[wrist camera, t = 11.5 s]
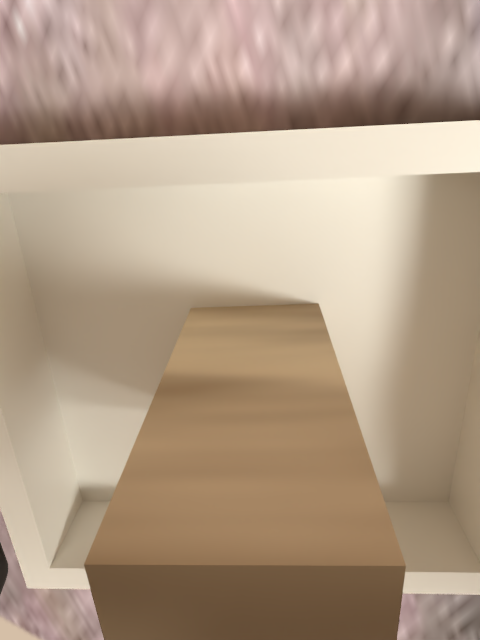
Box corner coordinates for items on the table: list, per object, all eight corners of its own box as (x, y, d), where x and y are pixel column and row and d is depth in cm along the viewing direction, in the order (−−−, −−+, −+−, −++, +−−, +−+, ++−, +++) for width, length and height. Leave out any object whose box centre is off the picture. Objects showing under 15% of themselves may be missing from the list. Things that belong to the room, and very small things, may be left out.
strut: (317, 411, 15) (382, 746, 7) (202, 414, 15) (131, 738, 7) (318, 303, 14) (405, 565, 5) (190, 307, 14) (84, 564, 6)
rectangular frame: (543, 117, 12) (647, 111, 9) (465, 509, 17) (511, 594, 14) (-26, 147, 13) (-121, 151, 10) (69, 508, 18) (27, 588, 15)
